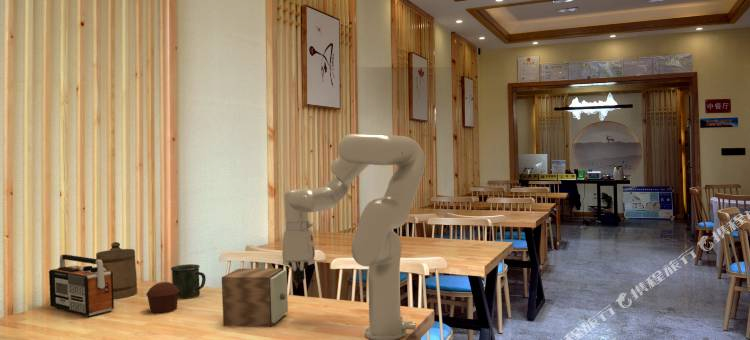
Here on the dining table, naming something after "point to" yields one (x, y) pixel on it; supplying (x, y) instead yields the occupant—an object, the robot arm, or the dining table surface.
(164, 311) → the muffin
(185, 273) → the mug
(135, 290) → the wooden container
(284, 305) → the drawer
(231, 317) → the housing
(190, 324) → the dining table surface
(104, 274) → the radio cassette player
